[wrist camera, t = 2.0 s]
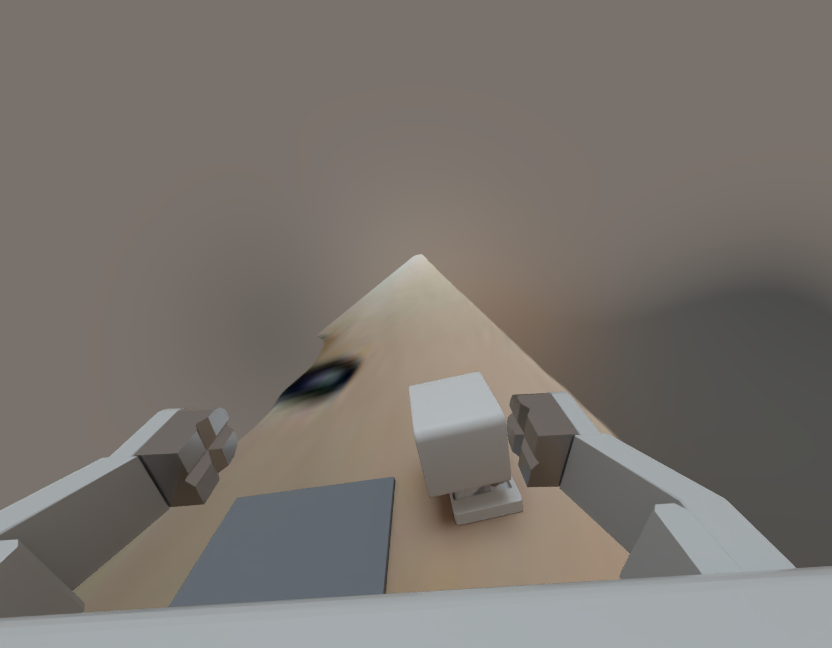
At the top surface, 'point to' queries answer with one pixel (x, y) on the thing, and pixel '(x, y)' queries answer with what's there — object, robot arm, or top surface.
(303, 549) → the desk pad
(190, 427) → the robot arm
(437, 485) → the security camera
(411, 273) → the top surface
